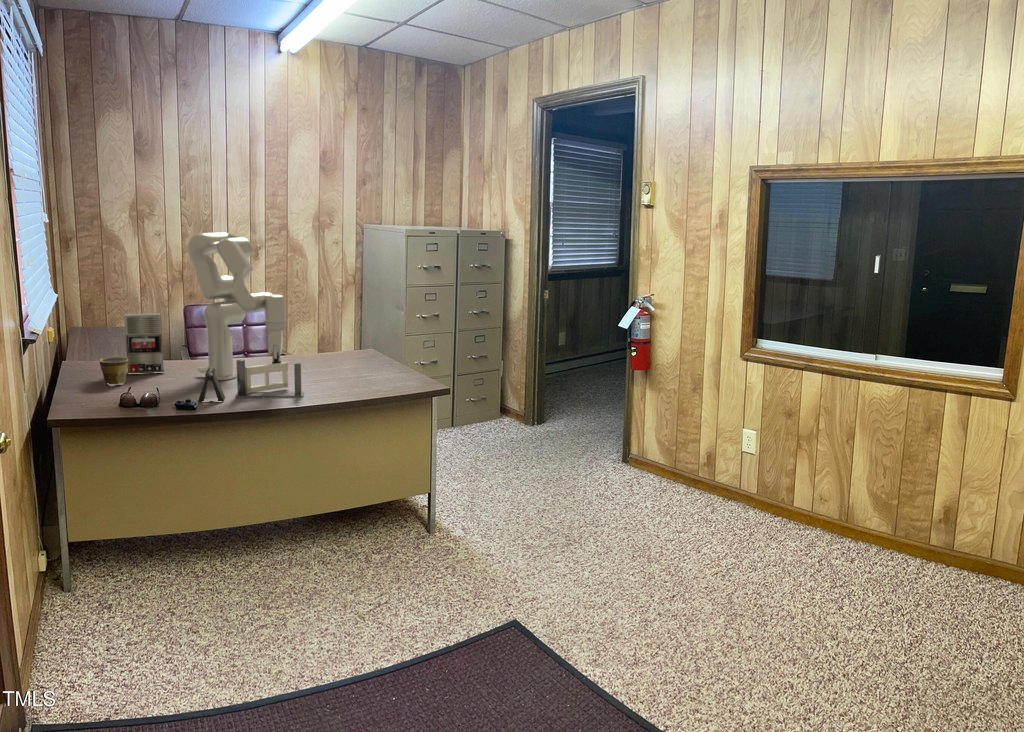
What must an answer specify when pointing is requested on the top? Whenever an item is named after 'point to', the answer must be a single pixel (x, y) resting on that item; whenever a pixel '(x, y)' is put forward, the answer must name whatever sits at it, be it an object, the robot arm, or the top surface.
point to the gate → (266, 376)
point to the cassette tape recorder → (144, 343)
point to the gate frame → (242, 392)
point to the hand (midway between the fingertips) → (276, 371)
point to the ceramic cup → (114, 369)
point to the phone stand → (215, 383)
